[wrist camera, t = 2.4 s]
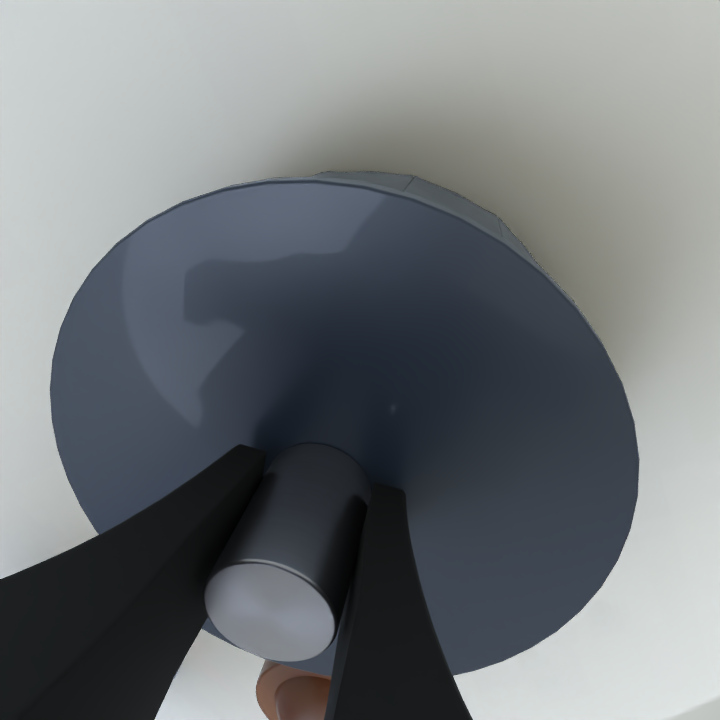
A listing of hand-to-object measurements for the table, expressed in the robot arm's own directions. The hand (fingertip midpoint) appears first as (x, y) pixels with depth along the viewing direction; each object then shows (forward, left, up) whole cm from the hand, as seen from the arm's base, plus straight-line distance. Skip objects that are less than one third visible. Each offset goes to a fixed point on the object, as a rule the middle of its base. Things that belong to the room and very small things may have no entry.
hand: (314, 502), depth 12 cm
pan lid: (0, 0, -1) cm, 1 cm away
